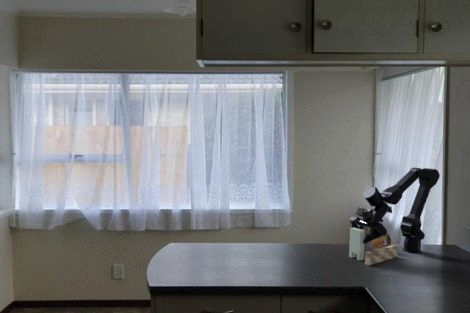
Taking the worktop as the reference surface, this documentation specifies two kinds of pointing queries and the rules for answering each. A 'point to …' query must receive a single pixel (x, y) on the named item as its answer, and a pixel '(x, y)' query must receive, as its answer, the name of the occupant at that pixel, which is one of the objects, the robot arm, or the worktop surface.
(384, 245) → the tin
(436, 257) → the worktop surface
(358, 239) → the sage block
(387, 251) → the beige long bar piece
